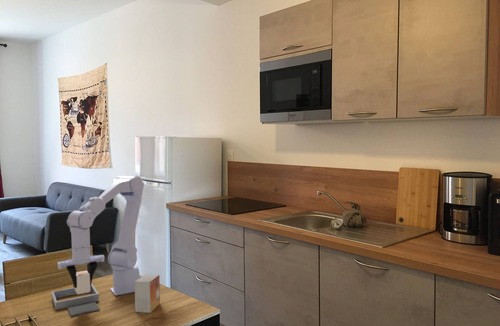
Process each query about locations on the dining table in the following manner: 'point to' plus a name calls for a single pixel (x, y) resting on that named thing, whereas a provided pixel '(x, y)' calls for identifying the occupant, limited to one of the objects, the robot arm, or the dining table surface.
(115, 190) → the robot arm
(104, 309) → the dining table surface
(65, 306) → the grey rectangular frame
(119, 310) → the dining table surface
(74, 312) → the mat
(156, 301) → the small box
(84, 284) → the block
